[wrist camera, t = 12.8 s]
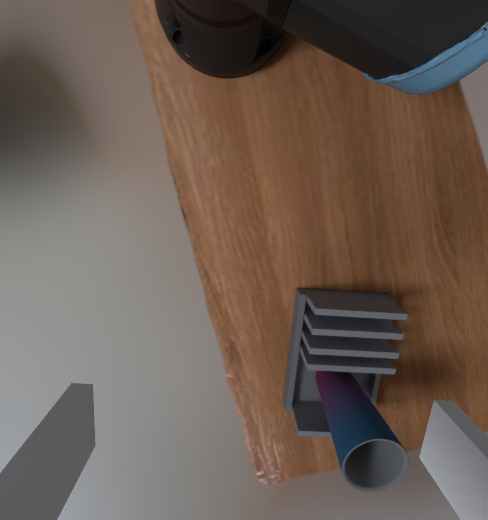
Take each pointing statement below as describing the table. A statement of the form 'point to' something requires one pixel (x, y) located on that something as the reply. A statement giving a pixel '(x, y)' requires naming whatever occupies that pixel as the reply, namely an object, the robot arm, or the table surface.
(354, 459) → the cup
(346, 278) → the table surface
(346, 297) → the rack
